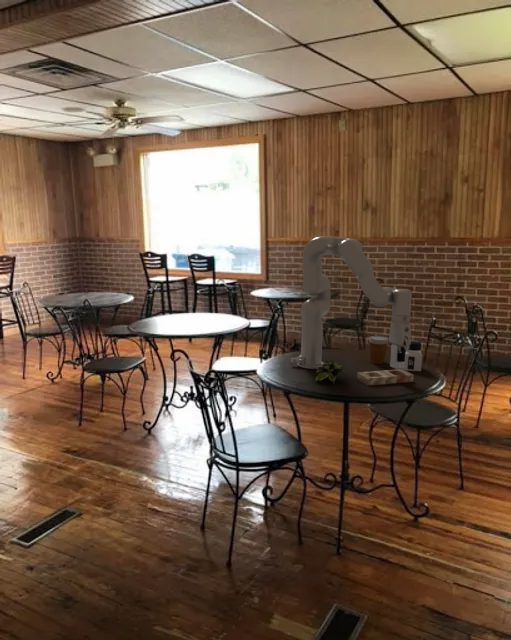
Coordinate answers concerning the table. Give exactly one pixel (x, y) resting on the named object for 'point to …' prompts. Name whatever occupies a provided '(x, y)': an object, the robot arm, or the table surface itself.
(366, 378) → the block with square holes
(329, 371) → the passion flower
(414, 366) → the container
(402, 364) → the peg
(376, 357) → the disposable coffee cup
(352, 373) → the table surface
